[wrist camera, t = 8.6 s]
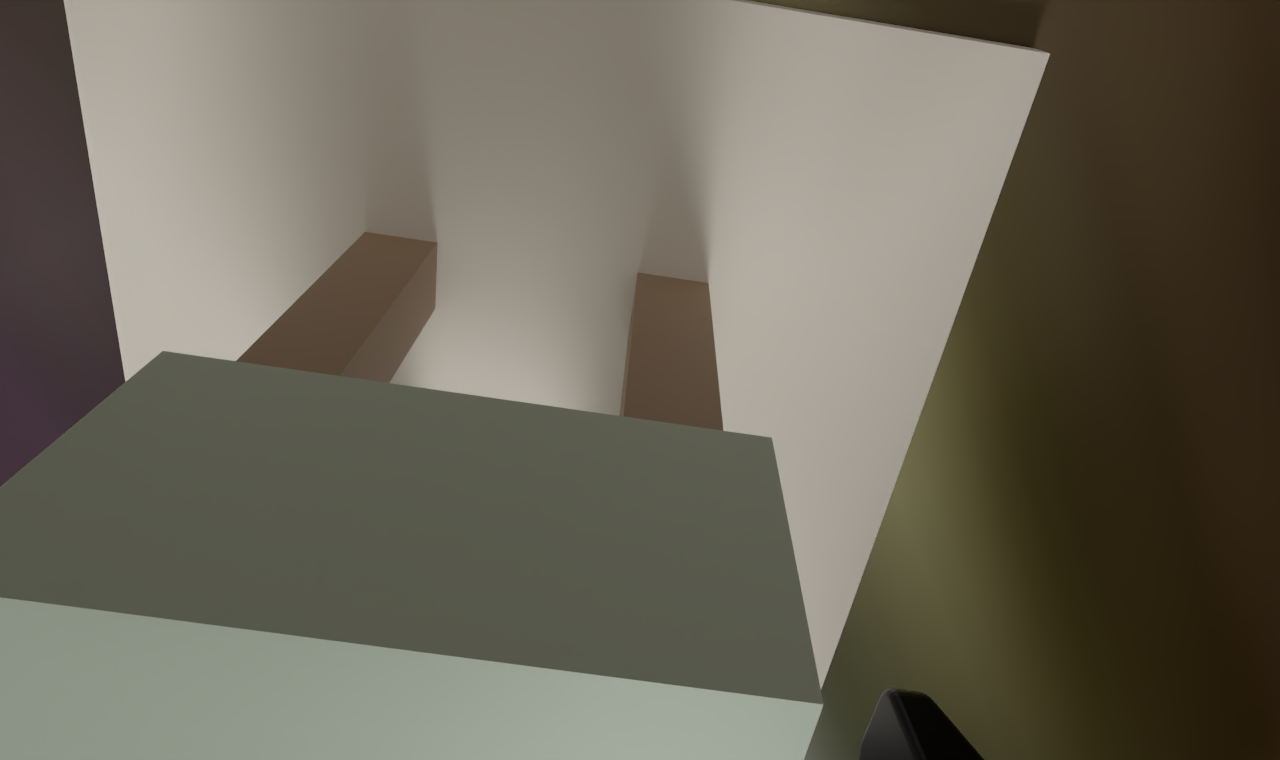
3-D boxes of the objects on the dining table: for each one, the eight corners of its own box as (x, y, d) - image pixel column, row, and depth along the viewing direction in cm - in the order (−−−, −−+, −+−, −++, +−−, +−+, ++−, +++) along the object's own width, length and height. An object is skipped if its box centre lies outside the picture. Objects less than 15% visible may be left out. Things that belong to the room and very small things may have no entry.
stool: (738, 263, 12) (823, 705, 5) (673, 567, 14) (674, 1120, 8) (339, 203, 11) (-115, 581, 5) (347, 522, 14) (59, 1052, 7)
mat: (1034, 49, 11) (1049, 54, 10) (806, 700, 16) (809, 722, 16) (72, -113, 10) (44, -115, 10) (180, 617, 16) (166, 636, 15)
